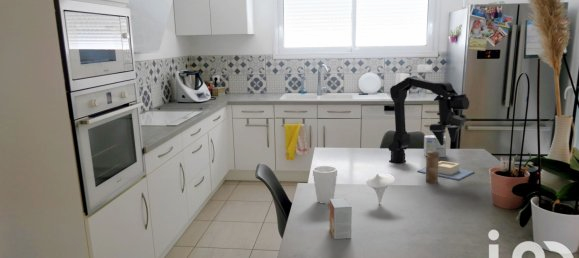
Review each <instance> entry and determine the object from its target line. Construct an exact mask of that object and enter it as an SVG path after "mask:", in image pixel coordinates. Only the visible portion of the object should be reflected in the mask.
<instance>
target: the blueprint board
mask: <svg viewBox="0 0 579 258" xmlns="http://www.w3.org/2000/svg"><path fill="white" fill-rule="evenodd" d="M417 173H422V174H425V175H426V166H425V167H423V168H421V169H418V170H417ZM474 173H475V171H473V170H469V169H464V168H460V163H455V162H450V161H447V160H446V161H445V160H444V161H443V160H440V161H439V162H438V177H440V178H445V179H449V180H456V181H461V180H462V179H464V178H466V177H469V176H470V175H472V174H474Z"/></svg>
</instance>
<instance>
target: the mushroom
mask: <svg viewBox="0 0 579 258" xmlns="http://www.w3.org/2000/svg"><path fill="white" fill-rule="evenodd" d="M395 180H396V178H395V176H394V175H392V174H390V173H389V174H387V173H377V174H375V175H371V176H370V177H368V179H366V180H365V183H366V185H367V186H368V187H370V188H372V189H373V190H374V191H375V193H376V196H377V200H378V204H379V203H381V204H382V199H383V197H384V193H385V192H386V190H387V188H388V187H389V186H391V185H392V184H394V182H395Z"/></svg>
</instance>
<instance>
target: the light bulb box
mask: <svg viewBox="0 0 579 258" xmlns="http://www.w3.org/2000/svg"><path fill="white" fill-rule="evenodd" d="M423 137H424V138H423V155H424V157H426V156H427V152H428V151H435V152H439V158H446V157H447V136H445V135H444V143H443V145H440V143H439V141H438V140H437V138H436V136H435V135H434V134H433V135H431V134H430V135H427V134H426V135H424V136H423Z"/></svg>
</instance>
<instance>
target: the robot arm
mask: <svg viewBox="0 0 579 258" xmlns="http://www.w3.org/2000/svg"><path fill="white" fill-rule="evenodd" d="M412 87H415V88H419V89H422V90H427V91H430V92H432V94H435V95H436V97H435V98H433V101H435V102H436V101H437V104H438V112H436V115H437V116H439V118H438V119H439V121H437V123H432V124H430V125H429V126H428V127H429V131H430V132H431V133H433V135H435V136H436V138H437V140H438V141H439V143H440V145H443V143H444V136H445V133H446V131H447V132H448V134H449V137H450V141H451V143H455V141H456V138H457V133H458V131H459V130H460V129H461V128H462V126H463V127H464V125H465V123H467V121H468V120H467V115H466V114H460V115H456V112H455V111H459V110H462V111H463V110H468V109H469V107H470V100H469V98H468V96H467V93H462V94H458V93H457V91H456V90H455V89H454V87H453V85H452V83H450V82H445V81H444V82H443V81H442V82H441V81H438V82H437V81H430V80H428V79H427V80H426V79H422V78H419V77H415V76H408V77H406V78H404V79H403V80H402V81H400V82H397V84H395V85H392V86H391V87H390V89H389V94H390V98H391V100H392V102H393V104H394V105H393V106H394V108H393V109H394V121H395V122H394V124H395V126H394V127H395V132H394V134H393V136H392V142H391V143H390V144H389V145H388V146H387V148H388V151H389V152H390V160H388V162H389V163H395V164H403V163H406V162H407V160H406V151H405V150H407V149H408V146H409V145H410V142H411V134H410V133H408V132H407V130H406V111H405V110H406V108H405V101H406V99H407V97H408V92H409V91H411V89H412Z"/></svg>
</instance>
